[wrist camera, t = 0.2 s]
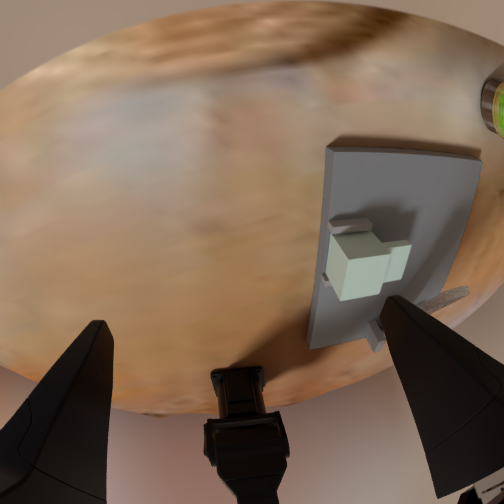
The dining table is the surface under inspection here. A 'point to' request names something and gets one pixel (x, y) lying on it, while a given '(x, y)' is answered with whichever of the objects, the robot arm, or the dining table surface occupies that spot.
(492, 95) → the sauce bottle
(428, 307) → the strap
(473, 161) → the board
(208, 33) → the dining table surface
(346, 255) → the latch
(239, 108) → the dining table surface
